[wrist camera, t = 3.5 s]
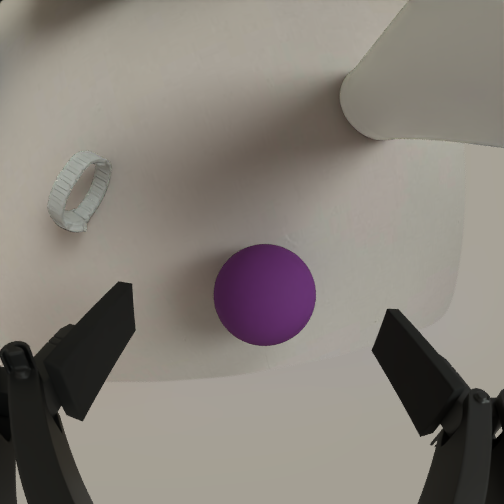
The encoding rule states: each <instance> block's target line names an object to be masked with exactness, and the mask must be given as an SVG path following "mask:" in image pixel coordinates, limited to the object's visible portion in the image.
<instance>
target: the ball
mask: <svg viewBox="0 0 504 504" xmlns="http://www.w3.org/2000/svg"><path fill="white" fill-rule="evenodd" d="M315 301H316V290H315V284H314V280H313V277H312V275H311V272H310V270H309V269H308V267H307V266H306V264H305V263H304V262H303V261H302V260H301V259H300V258H299V257H298V256H297V255H296V254H294V253H293V252H291V251H289V250H287V249H285V248H283V247H280V246H276V245H271V244H259V245H253V246H250V247H247V248H244V249H242V250H240V251H239V252H237V253H235V254H234V255H233V256H232V257H231V258H229V259H228V260H227V261H226V263H225V264H224V265H223V267H222V268H221V270H220V272H219V274H218V276H217V278H216V282H215V287H214V304H215V309H216V312H217V314H218V317H219V319H220V321H221V322H222V324H223V325H224V326H225V328H226V329H227V330H228V331H229V332H230V333H231V334H232V335H234V336H235V337H237V338H238V339H240V340H242V341H244V342H247V343H249V344H253V345H259V346H270V345H276V344H280V343H283V342H285V341H287V340H289V339H291V338H293V337H294V336H295V335H297V334H298V333H299V332H300V331H301V330H302V329H303V328H304V327H305V325H306V324H307V322H308V321H309V319H310V317H311V315H312V313H313V310H314V306H315Z"/></svg>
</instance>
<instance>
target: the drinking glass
mask: <svg viewBox="0 0 504 504" xmlns="http://www.w3.org/2000/svg"><path fill="white" fill-rule="evenodd" d="M340 104H341V108H342V111H343V113H344V115H345V117H346V118H347V120H348V121H349V123H350V124H351V125H352V126H353V127H354V128H355V129H356V130H357V131H358V132H360V133H361V134H363V135H365V136H367V137H369V138H372V139H375V140H392V139H422V140H438V141H450V142H460V143H469V144H476V145H484V146H493V147H501V148H504V0H409V1H408V2H407V3H406V4H405V6H404V7H403V8H402V9H401V10H400V12H399V13H398V14H397V15H396V17H395V18H394V19H393V20H392V22H391V23H390V24H389V25H388V27H387V28H386V29H385V30H384V32H383V33H382V34H381V36H380V37H379V38H378V39H377V41H376V42H375V43H374V44H373V46H372V47H371V48H370V50H369V51H368V52H367V53H366V55H365V56H364V57H363V58H362V60H361V61H360V62H359V63H358V65H357V66H356V67H355V68H354V69H353V70H352V71H351V72H350V73H349V74H348V75H347V76H346V77H345V79H344V80H343V82H342V85H341V88H340Z"/></svg>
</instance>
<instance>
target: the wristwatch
mask: <svg viewBox="0 0 504 504" xmlns="http://www.w3.org/2000/svg"><path fill="white" fill-rule="evenodd" d="M90 164H95V165H96V168H95V170H96V171H95V173H94V178H93V181H92V184H91V187H90V189H89V191H88V194H89V195H88V194H87V195H86V196H85V198H84V199H83V201H82V202H81V203H80V205H79V206H78V208H76V209H75V208H74V209H72V210H70V211H68V210H64V209H65V205H66V202H67V200H66V199H68V197H69V195H70V192H71V190H70V189H72V188H73V187H74V185H75V184H76V182H77V180H78V179H79V178H80V176H81V175H82V173H83V172H84V171H85V169H86V168H87V167H88V166H89V165H90ZM111 168H112V167H111V164H110V161H108V160H107V159H105V158H103V157H101V156H99V155H98V154H96V153H94V152H91V151H81V152H78V153H77V154H75V155H73V156H72V157H71V158H70V160H69V162H67V163H66V165H65V166H64V168H63V171H61V172H60V174H59V175H58V177H57V179H56V181H55V182H54V184H53V187H52V190H51V192H50V196H49V201H48V207H47V208H48V212H49V214H50V217H51V218H52V219H53V221H54V222H55V223H56V224H57V225H58V226H59V227H61V228H63V229H65V230H67V231H71V232H83V231H84V232H86V231H87V223H88V222H89V220H90V217H91V216H92V215H93V213H94V212H95V209H97V208H98V206H99V204H100V202H101V201H102V199H103V197H104V195H105V194H104V193H105V192H106V190H107V187H108V183H109V180H110V175H111ZM73 173H74V174H73ZM76 179H77V180H76ZM57 180H58V181H57ZM63 180H64V181H63ZM66 182H67V183H66ZM69 184H70V185H69ZM98 197H99V198H98ZM91 199H92V200H91ZM94 201H95V202H94ZM99 201H100V202H99Z"/></svg>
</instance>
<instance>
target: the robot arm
mask: <svg viewBox="0 0 504 504" xmlns="http://www.w3.org/2000/svg"><path fill="white" fill-rule="evenodd" d="M135 330H136V329H135V318H134V307H133V292H132V284H131V283H125V282H119V281H118V282H117V283H116V284H115V285H114V286H113V287H112V288H111V289H110V290H109V291H108V292H107V293H106V294H105V295H104V296H103V297H102V298H101V299H100V300H99V301H98V302H97V303H96V304H95V305H94V306H93V307H92V308H91V309H90V310H89V311H88V312H87V313H86V314H85V316H84V317H83V318H82V319H81V320H80V321H79V322H78V323H77V324H76V325H72V324H69V325H67V326H65V327H63V328H61V329H60V330H59V331H58V332H57V333H56V334H55V335H54V337H52V338H51V339H50V340H49V343H48V342H47V343H46V344H45V346H44V347H43V348H42V349H41V350H40V351H39V352H38V353H37V354H36V355H35V356H34V358H33V355H32V352H31V349H30V346H29V345H28V344H27V343H25V342H22V341H14V342H11V343H8V344H7V345H5V346H4V347H3V348H2V349H1V351H0V358H1V360H2V363H3V365H4V367H0V504H17V497H16V475H15V474H16V473H15V472H16V469H15V468H16V466H15V465H16V462H17V467H18V471H19V475H20V479H21V483H22V486H23V490H24V493H25V496H26V499H27V503H28V504H93V502H92V500H91V498H90V496H89V494H88V492H87V489H86V487H85V485H84V483H83V481H82V478H81V476H80V474H79V471H78V469H77V466H76V464H75V461H74V458H73V456H72V453H71V450H70V448H69V444H68V441H67V438H66V435H65V432H64V429H63V425H62V422H61V418H60V415H59V413H58V410H59V409H60V407H61V406H62V407H63V409H64V411H65V413H66V415H68V416H70V417H73V418H75V419H78V420H80V421H83V420H84V418H85V416H86V414H87V412H88V410H89V408H90V407H91V405H92V403H93V402H94V400H95V398H96V396H97V394H98V393H99V391H100V389H101V387H102V385H103V384H104V382H105V380H106V379H107V377H108V375H109V373H110V372H111V370H112V368H113V367H114V365H115V363H116V362H117V360H118V358H119V356H120V355H121V353H122V352H123V350H124V348H125V347H126V345H127V343H128V342H129V340H130V338H131V337H132V335H133V334H134V332H135ZM372 352H373V354H374V355H375V357H376V359H377V360H378V362H379V364H380V365H381V367H382V369H383V370H384V372H385V374H386V376H387V377H388V379H389V381H390V382H391V384H392V386H393V388H394V390H395V391H396V393H397V395H398V396H399V398H400V400H401V402H402V404H403V405H404V407H405V409H406V411H407V413H408V415H409V416H410V418H411V420H412V422H413V424H414V426H415V428H416V429H417V431H418V433H419V435H420V437H421V436H425V435H428V434H431V433H433V432H434V431H435V430H436V428H437V427H438V426H439V425H440V424H441V425H442V427H443V429H442V430H441V431H440V433H439V434H438V435H437V436H436V437H435V439H434V440H433V441H432V442H431V444H430V445H433V444H434V443H435V442H436V441H437V444H436V445H435V447H436V449H435V453H434V456H433V460H432V464H431V467H430V470H429V473H428V477H427V479H426V482H425V485H424V488H423V491H422V494H421V496H420V499H419V502H418V504H504V389H503V390H501V392H500V393H499V395H498V396H497V398H490V396H489V395H488V394H487V393H486V392H485V391H483V390H481V389H478V388H475V389H472V390H471V389H470V388H469V386H468V385H467V384H466V383H465V381H464V380H463V379H462V378H461V377H460V375H459V374H458V373H457V372H456V370H455V369H454V368H453V367H451V365H450V363H449V362H448V361H447V360H446V359H445V358H444V357H442V356H441V355H439V354H438V353H437V352H436V350H434V348H433V347H432V346H431V345H430V344H429V342H428V341H427V340H426V339H425V338H424V337H423V336H422V335H421V333H420V332H419V331H418V330H417V329H416V328H415V327H414V326H413V325H412V323H411V322H410V321H409V320H408V319H407V318H406V317H405V316H404V315H403V314H402V313H401V312H400V311H399V309H387V311H386V314H385V317H384V319H383V322H382V325H381V328H380V330H379V333H378V336H377V338H376V341H375V343H374V346H373V348H372ZM501 426H502V430H503V431H502V433H501V434H500V435H499V436H498V437H497V438H496V437H495V434H496V432H497V431H498V430H499V429H500V428H501Z"/></svg>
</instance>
